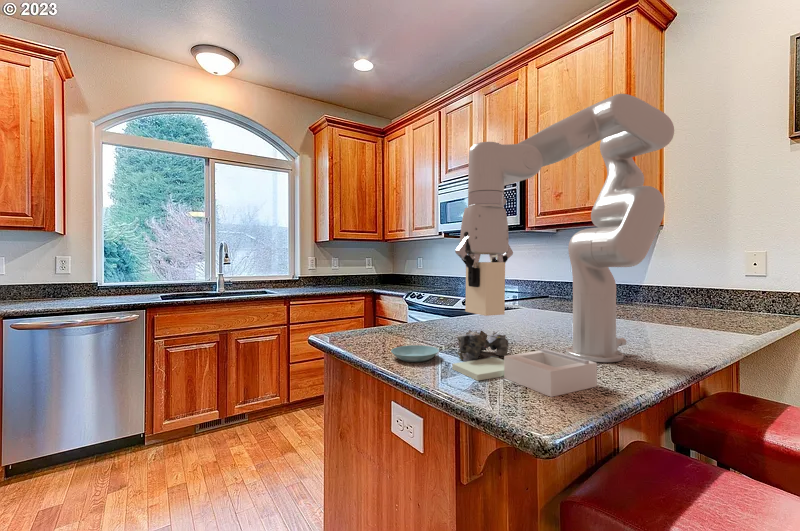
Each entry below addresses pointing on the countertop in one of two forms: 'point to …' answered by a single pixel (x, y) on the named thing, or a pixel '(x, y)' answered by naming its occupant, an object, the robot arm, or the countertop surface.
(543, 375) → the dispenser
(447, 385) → the countertop surface
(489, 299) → the cream rectangular block
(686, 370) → the countertop surface
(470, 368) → the pad
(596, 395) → the countertop surface
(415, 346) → the saucer
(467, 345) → the foil
